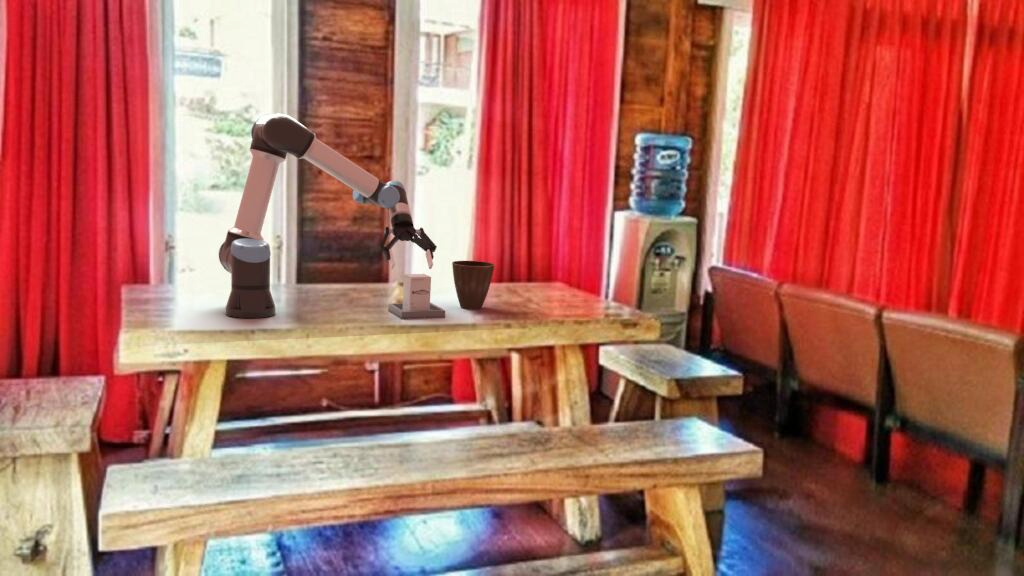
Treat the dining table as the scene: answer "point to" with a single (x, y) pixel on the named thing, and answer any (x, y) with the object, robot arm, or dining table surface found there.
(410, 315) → the tray
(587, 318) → the dining table surface
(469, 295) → the plant pot
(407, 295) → the supplement box
